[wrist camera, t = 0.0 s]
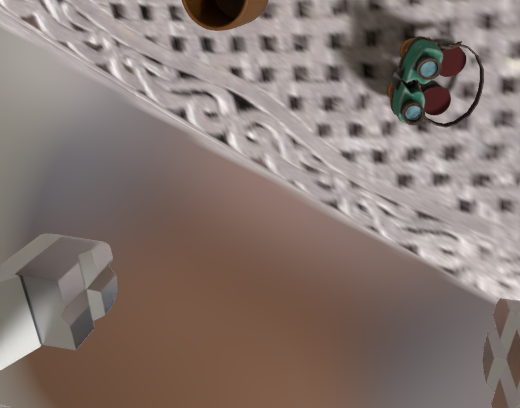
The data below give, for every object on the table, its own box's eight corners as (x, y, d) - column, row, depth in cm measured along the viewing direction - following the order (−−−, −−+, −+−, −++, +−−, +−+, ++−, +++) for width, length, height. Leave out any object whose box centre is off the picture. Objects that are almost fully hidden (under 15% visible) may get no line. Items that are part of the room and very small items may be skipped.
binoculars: (482, 152, 44) (383, 131, 45) (456, 119, 53) (374, 102, 54) (523, 60, 40) (412, 39, 40) (487, 42, 49) (397, 25, 49)
